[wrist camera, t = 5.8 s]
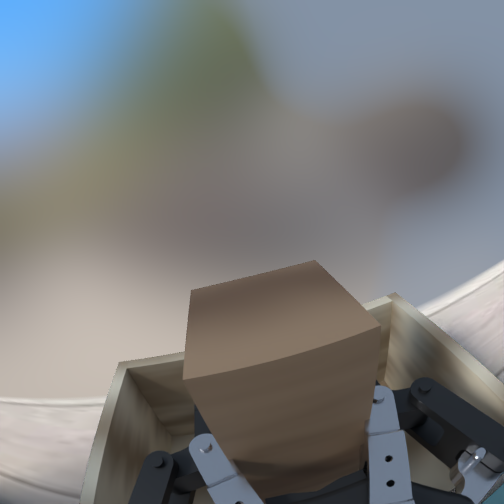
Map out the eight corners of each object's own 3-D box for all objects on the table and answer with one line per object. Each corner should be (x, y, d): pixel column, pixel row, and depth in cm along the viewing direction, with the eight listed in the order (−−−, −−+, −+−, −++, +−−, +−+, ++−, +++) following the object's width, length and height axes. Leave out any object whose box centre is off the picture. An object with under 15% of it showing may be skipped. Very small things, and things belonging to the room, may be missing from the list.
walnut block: (353, 487, 10) (381, 325, 6) (265, 512, 10) (182, 379, 6) (326, 428, 15) (315, 260, 11) (251, 448, 15) (191, 290, 11)
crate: (462, 482, 9) (525, 406, 6) (166, 567, 7) (74, 535, 4) (386, 378, 21) (395, 292, 18) (167, 436, 19) (119, 361, 16)
